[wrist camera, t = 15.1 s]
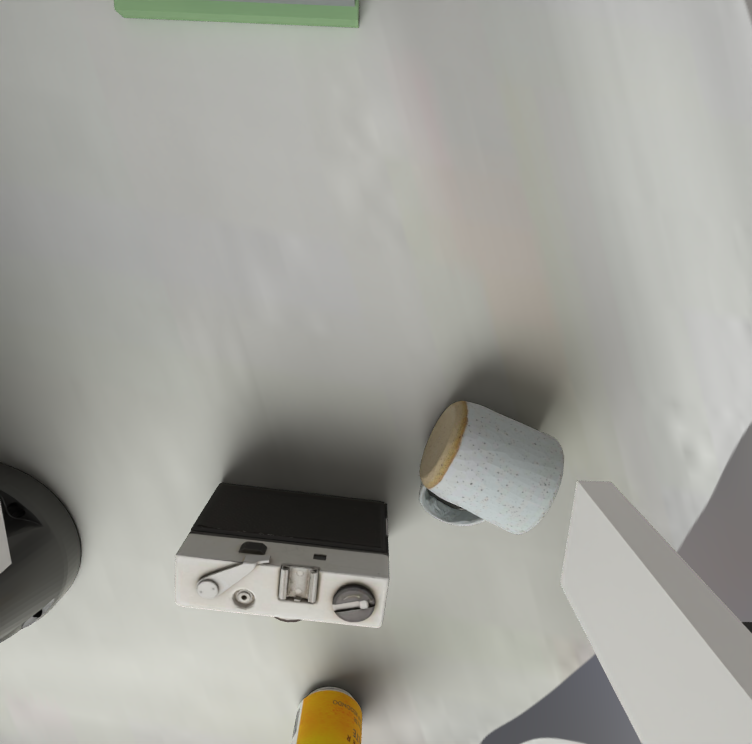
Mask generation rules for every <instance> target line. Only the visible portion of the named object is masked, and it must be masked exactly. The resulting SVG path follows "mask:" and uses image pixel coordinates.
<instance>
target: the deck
mask: <svg viewBox="0 0 752 744" xmlns="http://www.w3.org/2000/svg"><path fill="white" fill-rule="evenodd" d="M114 7H115V10H116V11H117V12H118V13H119V14H121V15H122V16H123V17H124V18H144V19H167V20H191V21H214V22H238V23H261V24H285V25H308V26H332V27H355V28H359V0H114Z"/></svg>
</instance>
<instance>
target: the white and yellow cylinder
mask: <svg viewBox="0 0 752 744" xmlns="http://www.w3.org/2000/svg"><path fill="white" fill-rule="evenodd" d="M361 735H362V711H361V708H360V706H359V704H358V703H357V702H356V701H355V700H354V698H353V697H352V696H351V695H350V694H349V693H348V692H347V691H345V690H343V689H340V688H337V687H322V688H319V689H316V690H314V691H313V692H311V693H310V694H309V695H308V696H307V697H306V698H304V699H303V700H302V702H301V703H300V705H299V707H298V709H297V715H296V721H295V726H294V732H293V738H292V744H361Z"/></svg>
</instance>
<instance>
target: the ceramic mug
mask: <svg viewBox="0 0 752 744" xmlns="http://www.w3.org/2000/svg"><path fill="white" fill-rule="evenodd" d="M563 467H564V455H563V450H562V447H561V445H560V443H559V442H558V441H557V440H556V439H555V438H554V437H552V436H550V435H547V434H545V433H543V432H540V431H538V430H536V429H533V428H531V427H529V426H527V425H525V424H522V423H520V422H518V421H516V420H513V419H511V418H508V417H506V416H503V415H501V414H499V413H497V412H495V411H493V410H490V409H488V408H486V407H484V406H482V405H479V404H475V403H471V402H467V401H458V402H455V403H453V404H451V405H450V406H449V407H448V408H447V409H446V410H445V411H444V412H443V414H442V415H441V417H440V418H439V420H438V421H437V423H436V425H435V427H434V429H433V430H432V433H431V435H430V437H429V439H428V442H427V444H426V447H425V450H424V453H423V456H422V460H421V465H420V478H421V480H422V482H421V486H420V492H419V500H420V503H421V505H422V507H423V508H424V510H425V511H426V512H428V513H429V514H430V515H431V516H433V517H434V518H436V519H438V520H440V521H442V522H444V523H447V524H451V525H456V526H469V525H475V524H478V523H481V522H484V521H488V522H490V523H492V524H494V525H496V526H498V527H500V528H502V529H504V530H506V531H508V532H510V533H513V534H522V533H525V532H527V531H529V530H531V529H532V528H533V527H535V526H536V525H537V524H538V523H539V522H540V520H541V519H542V518H543V517H544V516H545V514H546V513H547V511H548V510H549V508H550V506H551V504H552V502H553V500H554V498H555V496H556V494H557V492H558V489H559V487H560V484H561V480H562V476H563ZM427 489H429V490H430V491H431V492H433V493H434V494H435V495H437V496H438V497H440V498H442V499H444V500H446V501H448V502H450V503H452V504H455V505H457V506H459V507H461V508H464V509H465V510H458V509H453V508H451V507H449V506H447V505H445V504H443V503H442V502H440V501H438V500H437V499H436V498H434V497H432V496H430V495H429V493H428V492H427Z"/></svg>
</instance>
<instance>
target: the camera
mask: <svg viewBox="0 0 752 744" xmlns="http://www.w3.org/2000/svg"><path fill="white" fill-rule="evenodd" d="M388 585H389V550H388V519H387V504H384V502H379V501H370V500H362V499H353V498H345V497H336V496H328V495H319V494H310V493H302V492H293V491H285V490H276V489H268V488H259V487H250V486H242V485H233V484H225V483H220V484H219V485H218V487H217V488H216V490H215V492H214V493H213V495H212V496H211V498H210V500H209V501H208V503H207V504H206V506H205V508H204V509H203V511H202V512H201V514H200V516H199V517H198V519H197V520H196V522H195V524H194V525H193V527H192V528H191V532H190V533H189V534H188V536H187V538H186V539H185V541H184V542H183V544H182V546H181V547H180V549H179V550H178V552H177V554H176V555H175V602H176V604H177V605H179V606H181V607H189V608H199V609H208V610H217V611H226V612H235V613H245V614H254V615H263V616H272V617H275V618H277V619H278V620H281V621H284V622H297V621H301V620H309V621H318V622H328V623H337V624H346V625H355V626H364V627H374V628H379V627H380V626H381V625H382V622H383V617H384V611H385V605H386V598H387V592H388Z"/></svg>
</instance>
